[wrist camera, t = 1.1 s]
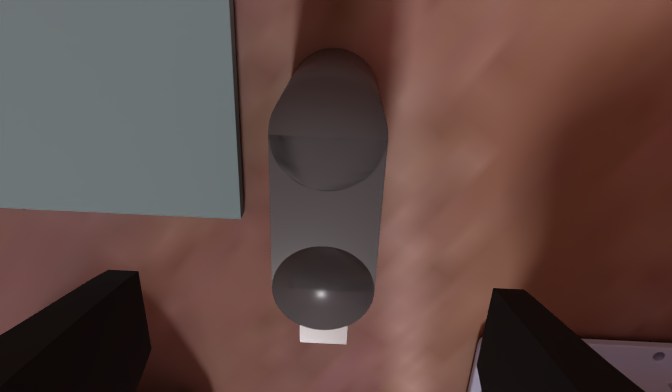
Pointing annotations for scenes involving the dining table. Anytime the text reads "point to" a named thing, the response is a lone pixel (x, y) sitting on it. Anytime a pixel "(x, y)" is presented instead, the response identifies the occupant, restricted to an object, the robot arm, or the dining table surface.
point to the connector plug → (326, 193)
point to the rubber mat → (120, 107)
